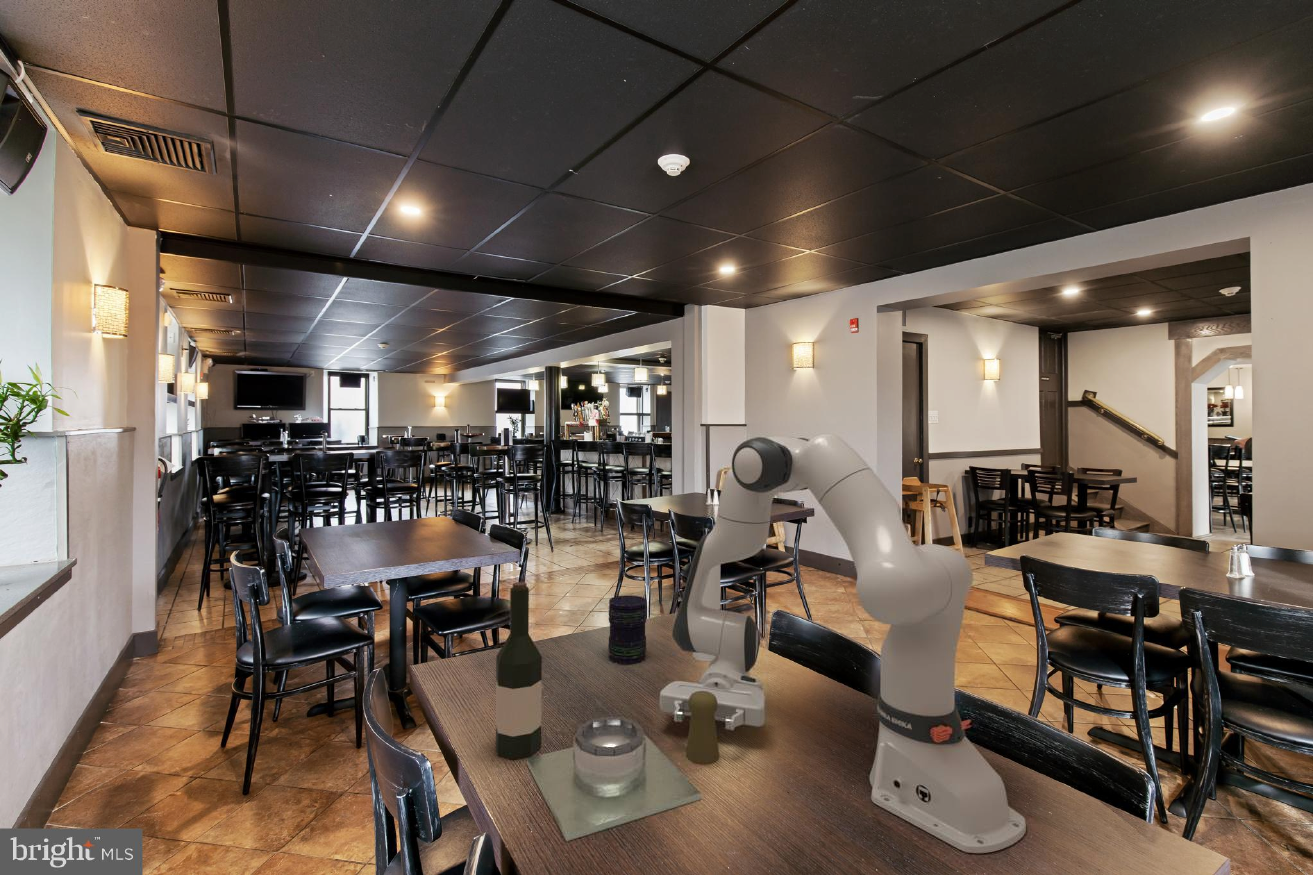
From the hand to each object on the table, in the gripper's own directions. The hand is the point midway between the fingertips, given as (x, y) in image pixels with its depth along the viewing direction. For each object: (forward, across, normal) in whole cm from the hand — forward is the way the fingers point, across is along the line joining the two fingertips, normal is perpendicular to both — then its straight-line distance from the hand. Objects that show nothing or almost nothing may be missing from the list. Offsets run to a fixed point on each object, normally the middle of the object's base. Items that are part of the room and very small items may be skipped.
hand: (703, 721), depth 105 cm
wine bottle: (+9, -33, +6) cm, 34 cm away
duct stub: (+13, -13, +6) cm, 19 cm away
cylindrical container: (-47, -11, +6) cm, 49 cm away
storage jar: (-40, -30, +6) cm, 50 cm away
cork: (0, 0, +6) cm, 6 cm away
